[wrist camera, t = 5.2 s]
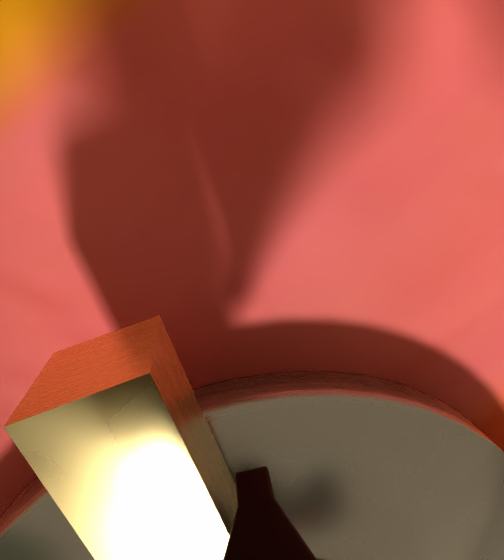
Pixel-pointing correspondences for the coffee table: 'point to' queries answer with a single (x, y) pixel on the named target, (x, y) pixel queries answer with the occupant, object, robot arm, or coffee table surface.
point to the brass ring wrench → (128, 449)
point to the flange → (332, 471)
